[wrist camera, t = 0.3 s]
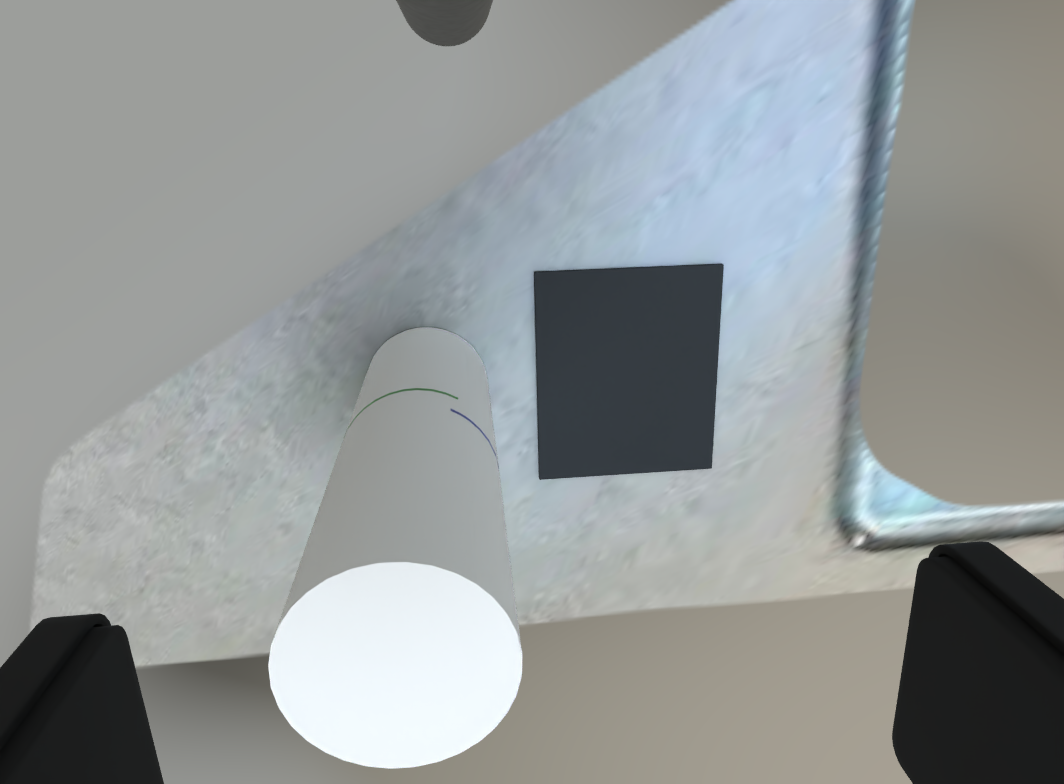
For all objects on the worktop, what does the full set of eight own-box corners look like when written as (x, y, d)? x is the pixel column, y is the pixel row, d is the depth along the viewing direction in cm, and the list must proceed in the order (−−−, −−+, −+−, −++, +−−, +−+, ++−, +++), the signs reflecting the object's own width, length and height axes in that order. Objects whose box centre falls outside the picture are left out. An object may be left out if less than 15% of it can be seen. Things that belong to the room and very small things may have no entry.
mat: (534, 271, 44) (534, 272, 43) (721, 263, 44) (723, 264, 44) (539, 477, 48) (539, 479, 48) (710, 466, 49) (711, 468, 49)
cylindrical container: (438, 462, 47) (421, 804, 23) (341, 395, 45) (217, 694, 21) (512, 376, 46) (572, 647, 22) (415, 302, 43) (370, 514, 20)
